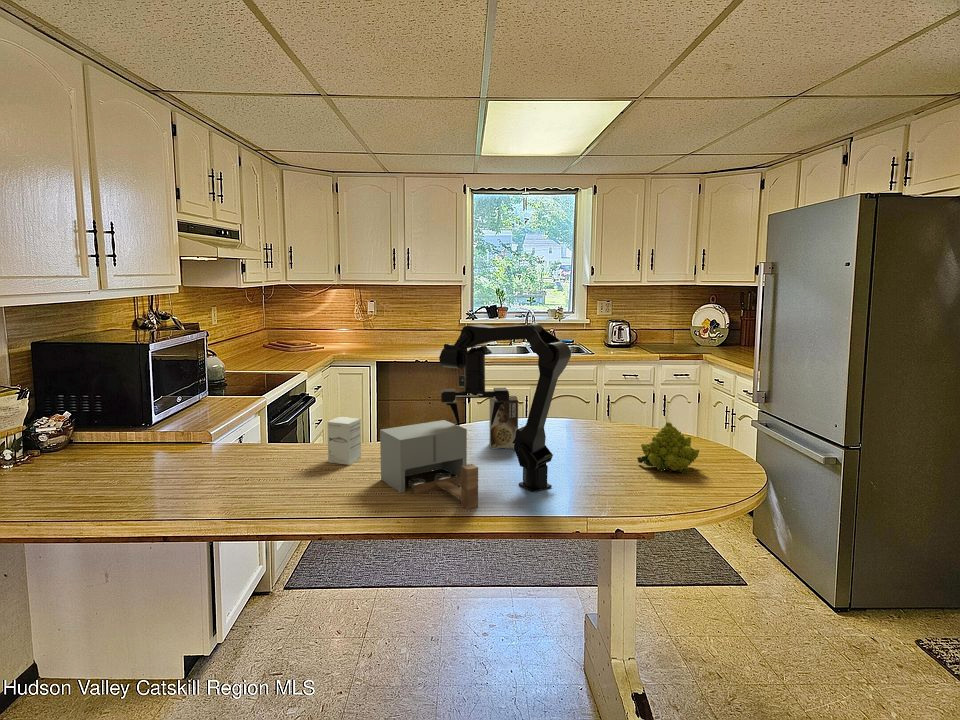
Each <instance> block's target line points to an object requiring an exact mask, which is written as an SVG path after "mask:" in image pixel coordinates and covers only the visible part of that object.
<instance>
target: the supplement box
mask: <svg viewBox="0 0 960 720" xmlns="http://www.w3.org/2000/svg"><path fill="white" fill-rule="evenodd" d="M361 421H362V418H356V417H346V416H338V417H335V418H333V419H331V420H328V421H327V462H328V463H329V464H339V465H346V466H351V465H352V464H354V463H356V462H358V461H359V460H361V459H362V439H361V438H362V434H361V433H362V430H361V429H362V428H361V427H362V426H361V425H362V423H361ZM360 458H361V459H360ZM357 460H358V461H357Z"/></svg>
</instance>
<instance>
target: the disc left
mask: <svg viewBox="0 0 960 720" xmlns="http://www.w3.org/2000/svg"><path fill="white" fill-rule="evenodd" d="M422 483H426V479H425V478H421V477H415V478H414V477H413V478H411V479H409V480H408V487H409V488H411V489H413V485H418V484H422Z"/></svg>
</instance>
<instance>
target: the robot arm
mask: <svg viewBox="0 0 960 720" xmlns="http://www.w3.org/2000/svg"><path fill="white" fill-rule="evenodd" d="M512 340H513V341H515V340H517V341H518V340H526V341H527V342H528V344H529V345H530V348H531V349H532V351H533V352H534V353H535V354H536V355H537V356H538V361H537V365H538V371H539V372H538V373H539V376H538V380H537V383H536V387H535V392H534V395H533V397H532V398H533V399H532V401H531V402H532V403H531V406H530V409H529V412H528V417H527V420H526V424H525V425H524V426H521V427H518V429H517V430H516V434H515V439H514V441H513V442H512V443H513V444H514V443H515V444H514V448H513V451H514V453H515V455H516V457H517V461H518V463H519V466H520V467H521V468H522V481H521V482H518V486H520V487H522V488H524V489H526V490H528V491H530V492H535V493H536V492H538V491H542V490H546V489H551V488H552V487H553V486H552V484H549V483H548V471H549V470H548V465H547V463H550V462H551V461H552V459H553V456H554V455H553V452H551V451H550V449H549V448H548V447H547V445H546V438H547V436H546V432H545V431H546V430H545V424H546V421H547V417H548V414H549V411H550V408H551V403H552V400H553V397H554V393H555V389H556V386H557V383H558V379H559V377H561V375H562V373H563V372H564V370H565V369H566V368H567V366H568V364H569V361H570V359H571V357H572V350H571V348H570V346H569V345H568V344H567V343H565V342H564V341H561V340H560V339H559V338H558V337H557V336H555V335H554V334H552V332H549V331H548V330H546V329H545V328H544V327H543V326H542V325H541V324H539V323H538V322H537V323H536V322H535V323H528V324H522V325H521V324H519V325H507V326H506V325H505V326H492V325H490V324H483V323H482V324H481V323H478V324H471V325H464V326H462V329H461V330H460V335H459V336H458V338H457V340H456V341H455V343H454V344H453V343H444V344H443V349H442V350H441V351H440V355H439V357H438V359H439V364H440V365H441V366H442V368H451V369H460V370H461V369H463V368H464V372H463V373H464V374H463V375H458V388H463V390H464V391H456V388H442V389H441V390H440V392H441V393H440V394H441V395H440V397H441V398H440V399H441V403H445V404H446V406H449V407H450V408H451V411H452V412H453V414H454V418H455V421H456V423H457V424H456V425H458V426H460V424H461V423H460V422H461V421H460V417H459V415H460V414H459V409H458V400H457V399H487V398H488V399H490V398H492V411H491V425H493V422H494V419H495V416H496V414H497V411H498V409H499V407H500V405H501V404H505V402H504V401H509V396H510V391H509V390H508V389H507V388H506V387H493V390H486V356H488V355H492V354H493V352H492V350H490V349H489V347H488V346H487V345H486V344H489V343H493V342H496V341H497V342H498V341H512ZM477 346H480V347H477ZM468 349H469V350H468ZM460 427H461V426H460Z"/></svg>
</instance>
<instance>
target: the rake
mask: <svg viewBox="0 0 960 720" xmlns="http://www.w3.org/2000/svg"><path fill="white" fill-rule="evenodd" d="M456 485H457V486H456ZM459 486H460V487H459ZM438 489H439V490H444V491H446V492H448V493H449V494H451V495H453V496H455V497H456V498H458V499H460V506H461V507H463V508H464V509H466V510H471V509H474V508H475V509H476V508H478V507H479V467H478V466H477V465H474V464H473V463H469V464H467V465H463V466H461V475H460V476H455V475H454V476H451V478H446V479H441V480H437V481H435V480H432V481H428V482H425V483H422V484H418V485H413V488H412V491H413V492H412V494H413V495H421V494H425V493H429V492H433V491H438Z"/></svg>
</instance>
